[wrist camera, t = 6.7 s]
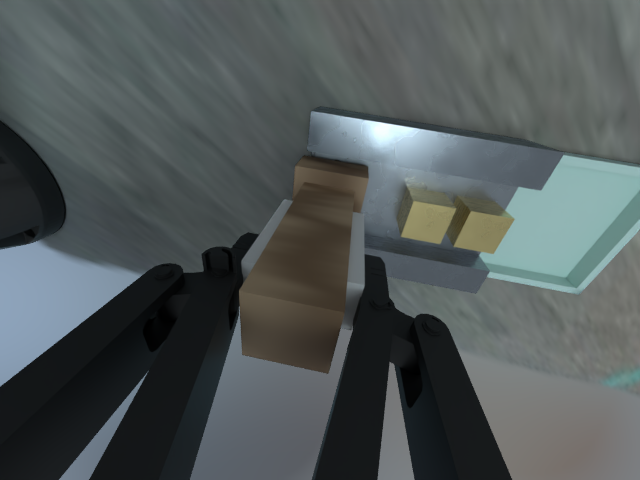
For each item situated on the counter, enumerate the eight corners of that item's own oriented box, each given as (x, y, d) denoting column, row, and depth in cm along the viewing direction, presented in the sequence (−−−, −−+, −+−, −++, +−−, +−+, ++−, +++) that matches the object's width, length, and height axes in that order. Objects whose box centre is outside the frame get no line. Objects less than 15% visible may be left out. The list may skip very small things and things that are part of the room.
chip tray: (461, 260, 26) (468, 273, 24) (524, 145, 20) (539, 151, 18) (564, 280, 25) (579, 294, 23) (660, 167, 19) (689, 175, 17)
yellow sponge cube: (442, 227, 22) (453, 246, 19) (457, 195, 20) (471, 211, 18) (478, 234, 22) (493, 254, 19) (495, 202, 20) (514, 219, 18)
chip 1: (396, 219, 22) (400, 236, 20) (407, 186, 20) (413, 200, 18) (431, 225, 22) (440, 244, 19) (444, 193, 20) (456, 208, 18)
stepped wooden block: (297, 218, 23) (225, 365, 11) (303, 155, 20) (213, 262, 8) (353, 228, 22) (342, 391, 10) (368, 166, 19) (375, 294, 8)
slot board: (305, 234, 27) (296, 258, 23) (320, 106, 20) (311, 111, 17) (460, 264, 26) (476, 293, 22) (526, 140, 19) (565, 152, 16)
